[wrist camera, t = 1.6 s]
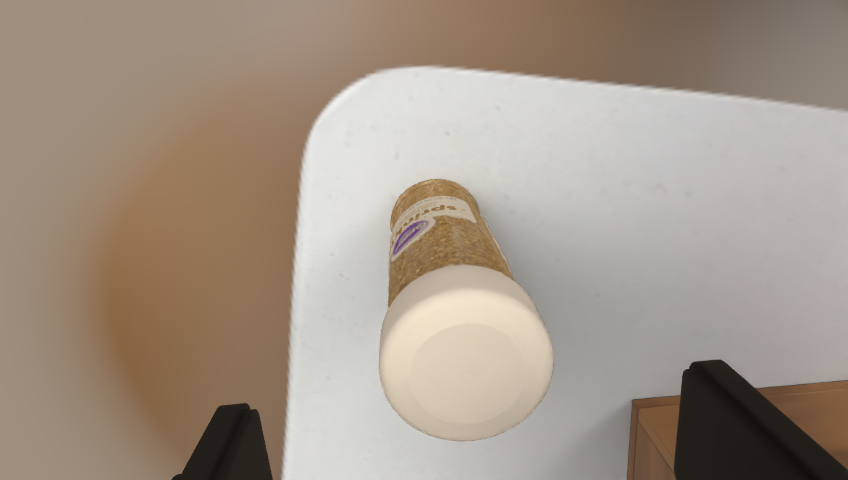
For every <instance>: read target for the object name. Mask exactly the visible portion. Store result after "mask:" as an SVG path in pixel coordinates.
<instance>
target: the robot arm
mask: <svg viewBox="0 0 848 480" xmlns="http://www.w3.org/2000/svg"><path fill="white" fill-rule="evenodd" d="M674 475H675V478H676V480H848V469H846V468H845V467H844V466H843V465H842V464H841V463H840V462H838V461H837V460H836V459H835V458H834V457H833V456H832V455H830V454H829V453H828V452H827V451H826V450H825V449H824V448H822V447H821V446H820V445H819V444H818V443H817V442H816V441H814V440H813V439H812V438H811V437H810V436H809V435H808V434H806V433H805V432H804V431H803V430H802V429H801V428H800V427H798V426H797V425H796V424H795V423H794V422H793V421H792V420H790V419H789V418H788V417H787V416H786V415H785V414H784V413H782V412H781V411H780V410H779V409H778V408H777V407H776V406H774V405H773V404H772V403H771V402H770V401H769V400H768V399H766V398H765V397H764V396H763V395H762V394H761V393H760V392H758V391H757V390H756V389H755V388H754V387H753V386H752V385H750V384H749V383H748V382H747V381H746V380H745V379H744V378H742V377H741V376H740V375H739V374H738V373H737V372H736V371H735V370H733V369H732V368H731V367H730V366H729V365H728V364H727V363H725V362H724V361H722V360H708V361H697V362H693V363H691V365H690V367H689V369H686V370H684V372H683V376H682V386H681V396H680V407H679V417H678V428H677V438H676V448H675V459H674ZM172 480H273V479H272V474H271V469H270V465H269V460H268V455H267V451H266V445H265V440H264V436H263V431H262V426H261V421H260V417H259V413H258V411H257V410H256V409H254V410H250V407H249V405H248V404H247V403H243V404H232V405H223V406H219V407H218V408H217V410H216V412H215V413H214V415H213V417H212V419H211V421H210V423H209V424H208V426H207V428H206V430H205V432H204V434H203V436H202V437H201V439H200V441H199V443H198V445H197V446H196V448H195V450H194V452H193V454H192V456H191V458H190V460H189V461H188V463H187V465H186V467H185V468H184V470H183V472H182V474H178V475H176V476H174V477H173V478H172Z"/></svg>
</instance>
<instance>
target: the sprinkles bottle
mask: <svg viewBox="0 0 848 480" xmlns="http://www.w3.org/2000/svg"><path fill="white" fill-rule="evenodd" d="M390 228H391V232H392V234H391V239H390V251H389V278H390V280H389V300H388V311H387V313H386V315H385V318H384V321H383V325H382V329H381V338H380V353H379V374H380V380H381V384H382V387H383V390H384V393H385V396H386V397H387V399H388V401H389V403H390V404H391V406H392V408H393V409H394V410H395V411H396V412H397V414H398V415H399V416H400V417H401V418H402V419H403V420H404V421H406V422H407V423H408V424H409V425H411V426H412V427H414V428H416V429H417V430H419V431H421V432H423V433H425V434H428V435H430V436H433V437H437V438H440V439H445V440H452V441H475V440H480V439H485V438H488V437H492V436H496V435H498V434H501V433H503V432H505V431H507V430H509V429H511V428H513V427H514V426H516V425H517V424H519V423H520V422H522V421H523V420H524V419H525V418H526V417H528V416H529V415H530V414H531V413H532V412H533V410H534V409H535V408H536V407H537V406H538V405H539V403H540V402H541V400H542V398H543V397H544V395H545V393H546V391H547V389H548V387H549V384H550V381H551V377H552V372H553V365H554V364H553V360H554V359H553V349H552V344H551V340H550V337H549V334H548V332H547V330H546V328H545V325H544V323H543V321H542V319H541V317H540V315H539V313H538V311H537V309H536V307H535V306H534V304H533V302H532V300H531V299H530V297H529V296H528V295H527V293H526V292H525V291H524V290H523V289H522V288H521V287H520V286H519V285H518V284H517V283H516V282H514V279H513V277H512V274H511V270H510V267H509V265H508V262H507V260H506V258H505V256H504V254H503V253H502V251H501V249H500V247H499V245H498V243H497V241H496V240H495V238H494V236H493V234H492V232H491V231H490V229H489V227H488V225H487V223H486V222H485V220H484V218H483V217H482V216H481V215H480V213H479V209H478V206H477V203H476V202H475V200H474V199H473V197H472V196H471V194H470V193H469V192H468V191H467V190H466V189H465V188H463V187H462V186H460V185H458V184H456V183H454V182H451V181H446V180H441V179H431V180H426V181H423V182H420V183H418V184H416V185H413V186H412V187H410V188H408V189H407V190H406V191H405V192H404V193H403V194H401V195H400V197H399V199H398V200H397V202H396V204H395V206H394V208H393V211H392V215H391V223H390Z"/></svg>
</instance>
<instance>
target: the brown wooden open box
mask: <svg viewBox="0 0 848 480" xmlns="http://www.w3.org/2000/svg"><path fill="white" fill-rule="evenodd" d="M756 390H757V391H758V392H760V393H761V394H762V395H763V396H764V397H765V398H766V399H768V400H769V401H770V402H771V403H772V404H773V405H774V406H776V407H777V408H778V409H779V410H780V411H781V412H782V413H784V414H785V415H786V416H787V417H788V418H789V419H790V420H792V421H793V422H794V423H795V424H796V425H797V426H798V427H800V428H801V429H802V430H803V431H804V432H805V433H806V434H808V435H809V436H810V437H811V438H812V439H813V440H814V441H816V442H817V443H818V444H819V445H820V446H821V447H822V448H824V449H825V450H826V451H827V452H828V453H829V454H830V455H832V456H833V457H834V458H835V459H836V460H837V461H838V462H840V463H841V464H842V465H843V466H844V467H845V468H846V469H848V381H837V382H826V383H814V384H803V385H792V386H781V387H770V388H759V389H756ZM679 407H680V396H670V397H659V398H648V399H637V400H633V402H632V416H631V431H630V445H629V460H628V474H627V480H676V478H675V475H674V459H675V448H676V438H677V428H678V417H679Z"/></svg>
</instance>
